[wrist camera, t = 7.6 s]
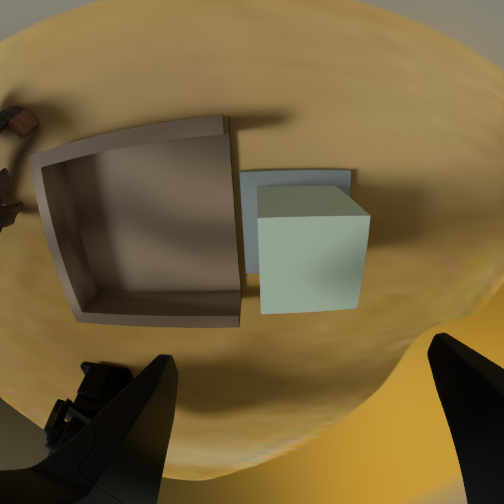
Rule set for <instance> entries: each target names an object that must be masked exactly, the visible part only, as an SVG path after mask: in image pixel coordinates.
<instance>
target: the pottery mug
mask: <svg viewBox="0 0 504 504" xmlns="http://www.w3.org/2000/svg"><path fill="white" fill-rule="evenodd" d="M38 125H39V122H38V121H37V119H36V118H35V117H34V116H33V115H32V114H31V113H30V112H28V111H27V110H25V109H23V108H21V107H18V106H11V107H8V108H7V109H5V110H3V111H1V112H0V131H1V130H2V129H3V128H5V127H7V126H8V127H9V128H11V129H13V130H14V131H15V132H16V133H17V134H18V135H19V136H20V137H21V138H25V137H26V136H27V135H28V134H29V133H30V131H31V130H33V129H34V128H36V127H37V126H38ZM9 183H10V178H9V174H8V171H7V169H6V168H4V169H2V170H1V171H0V232H1V230H2V228H3V227H7V226H10V225H12V224H14V222H15V218H16V216H17V214H18V213H19V211H20V210H21V208H22V206H23V203H22V202H20V203H18V204H15V205H5V206H2V204H3V203H4V202H5V199H6V195H7V188H8V185H9Z"/></svg>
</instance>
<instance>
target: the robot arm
mask: <svg viewBox="0 0 504 504" xmlns="http://www.w3.org/2000/svg"><path fill="white" fill-rule="evenodd" d="M427 355H428V360H429V363H430V366H431V370H432V374H433V378H434V382H435V385H436V389H437V392H438V395H439V398H440V401H441V404H442V407H443V409H444V413H445V416H446V419H447V422H448V425H449V428H450V432H451V435H452V438H453V442H454V445H455V449H456V453H457V456H458V460H459V464H460V468H461V473H462V477H463V482H464V487H465V492H466V497H467V503H468V504H504V369H503V368H501V367H500V366H498V365H497V364H495V363H494V362H492V361H490V360H489V359H487V358H486V357H484V356H482V355H481V354H479V353H478V352H476V351H474V350H473V349H471V348H469V347H468V346H466V345H465V344H463V343H461V342H460V341H458V340H457V339H455V338H453V337H452V336H450V335H448V334H447V333H439V334H436V335H435V336H434V338H433V340H432V342H431V344H430V347H429V349H428V354H427ZM80 367H81V369H82V370H83V372H84V374H85V377H84V379H83V381H82V383H81V385H80V387H79V389H78V391H77V393H78V394H77V397H76V399H75V401H74V403H73V402H72V401H71V400H70V399H68V398H67V400H66V401H64V400H60V399H58V400H57V402H56V403H55V405H54V407H53V409H52V412H51V414H50V416H49V418H48V421H47V423H46V425H45V428H44V434H45V436H46V438H45V441H46V443H45V448H46V449H48V450H49V453H48V455H47V458H45V459H44V460H43V461H41V462H40V463H38V464H37V465H34V466H32V467H29V468H25V469H16V470H2V471H0V504H157V500H158V495H159V489H160V484H161V479H162V474H163V469H164V463H165V459H166V454H167V449H168V444H169V439H170V434H171V430H172V425H173V420H174V414H175V403H176V393H177V383H178V371H177V368H176V365H175V362H174V359H173V357H172V355H165V354H160V355H158V356H157V357H156V358H155V359H154V360H153V361H152V362H151V363H150V364H149V365H148V366H147V367H146V368H145V369H144V370H143V371H142V372H141V373H140V374H139V375H138V376H137V377H136V378H135V379H134V378H133V376H132V374H131V372H130V371H129V370H128V369H125V368H117V367H109V366H102V365H96V364H89V363H82V364H81V365H80ZM64 419H66V420H67V422H66V421H64Z"/></svg>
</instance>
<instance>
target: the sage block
mask: <svg viewBox="0 0 504 504" xmlns="http://www.w3.org/2000/svg"><path fill="white" fill-rule="evenodd" d="M256 188H257V220H258V246H259V272H260V300H261V314H279V313H299V312H315V311H329V310H342V309H354V308H357V306H358V301H359V296H360V290H361V284H362V278H363V272H364V265H365V258H366V251H367V243H368V235H369V226H370V215H369V214H368V213H367V212H366V211H365V210H364V209H362V208H361V207H360V206H359V205H358V204H357V203H356V202H355V201H353V200H352V199H351V198H350V197H349V196H348V195H346V194H345V193H344V192H343V191H342V190H340V189H339V188H338V187H337V186H336V185H307V186H262V187H256Z"/></svg>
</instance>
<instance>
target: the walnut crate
mask: <svg viewBox="0 0 504 504" xmlns="http://www.w3.org/2000/svg"><path fill="white" fill-rule="evenodd" d="M29 159H30V166H31V172H32V178H33V184H34V189H35V194H36V199H37V203H38V208H39V212H40V216H41V220H42V224H43V228H44V232H45V235H46V239H47V242H48V246H49V249H50V252H51V255H52V258H53V261H54V265H55V267H56V270H57V273H58V276H59V279H60V282H61V284H62V287H63V290H64V292H65V295H66V297H67V300H68V302H69V305H70V307H71V309H72V312H73V314H74V316H75V319H76V321H77V322H85V323H97V324H110V325H126V326H147V327H184V328H226V327H240V314H241V299H242V297H241V285H240V273H239V261H238V248H237V235H236V221H235V208H234V194H233V179H232V164H231V149H230V133H229V117H227V116H223V115H220V116H209V117H200V118H191V119H183V120H176V121H169V122H162V123H156V124H150V125H144V126H139V127H134V128H129V129H124V130H119V131H115V132H110V133H106V134H102V135H97V136H93V137H90V138H86V139H82V140H78V141H75V142H71V143H68V144H64V145H61V146H58V147H55V148H51V149H48V150H45V151H42V152H39V153H36V154H34V155H31V156H29Z"/></svg>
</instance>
